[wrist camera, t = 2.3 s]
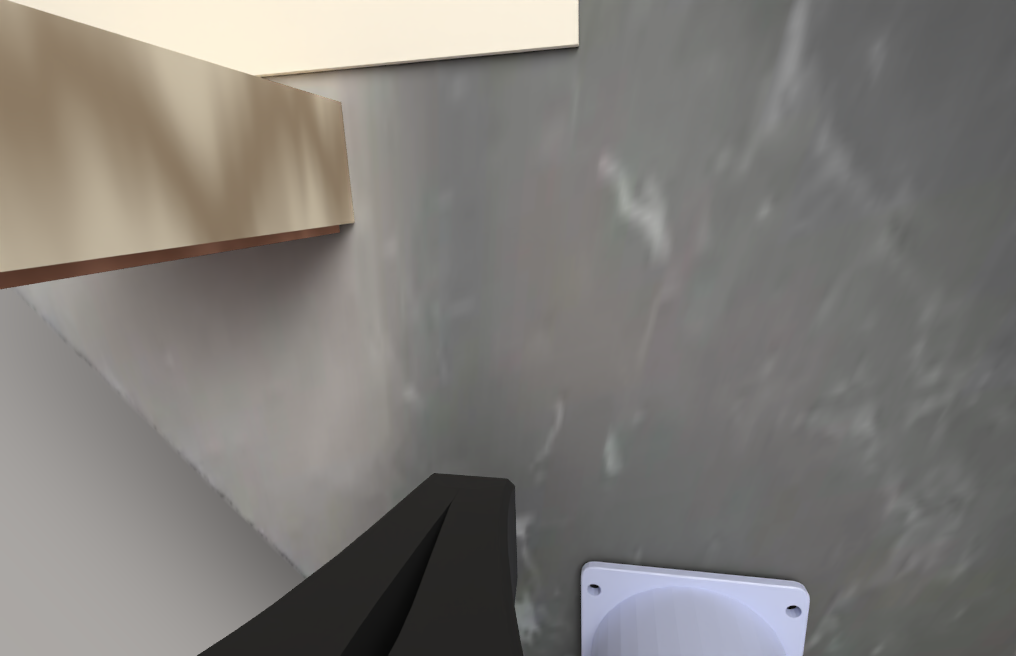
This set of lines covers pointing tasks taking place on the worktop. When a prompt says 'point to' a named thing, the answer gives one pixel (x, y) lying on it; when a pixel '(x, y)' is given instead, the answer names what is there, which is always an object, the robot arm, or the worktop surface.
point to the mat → (329, 29)
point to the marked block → (150, 154)
